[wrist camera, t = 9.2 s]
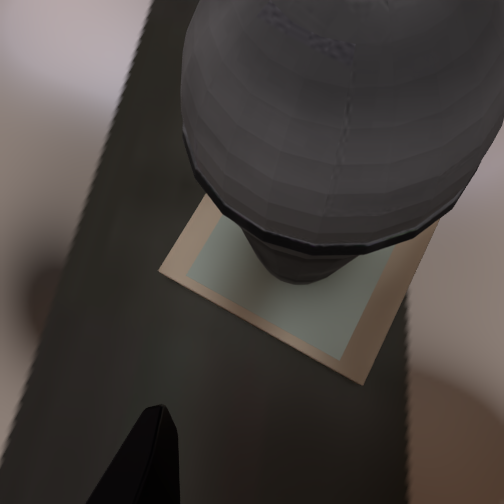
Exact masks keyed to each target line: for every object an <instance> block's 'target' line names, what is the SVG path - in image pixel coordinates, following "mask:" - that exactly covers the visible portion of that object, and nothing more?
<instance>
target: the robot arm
mask: <svg viewBox="0 0 504 504" xmlns="http://www.w3.org/2000/svg"><path fill="white" fill-rule="evenodd" d="M85 504H180V484H179V451H178V433H177V429H176V426H175V424H174V422H173V420H172V418H171V415H170V413H169V411H168V409H167V407H166V406H165V405H163V404H161V405H156V406H152V407H148V408H146V409H145V410H144V411H143V412H142V414H141V415H140V417H139V418H138V420H137V422H136V423H135V425H134V426H133V428H132V430H131V431H130V433H129V434H128V436H127V438H126V439H125V441H124V442H123V444H122V446H121V447H120V449H119V450H118V452H117V454H116V455H115V457H114V458H113V460H112V462H111V463H110V465H109V466H108V468H107V470H106V471H105V473H104V474H103V476H102V477H101V479H100V481H99V482H98V484H97V485H96V487H95V489H94V490H93V492H92V493H91V495H90V497H89V498H88V500H87V501H86V503H85Z"/></svg>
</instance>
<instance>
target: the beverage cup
mask: <svg viewBox="0 0 504 504" xmlns="http://www.w3.org/2000/svg"><path fill="white" fill-rule="evenodd" d="M181 114H182V117H183V142H184V145H185V148H186V151H187V154H188V157H189V161H190V164H191V167H192V170H193V173H194V176H195V179H196V180H197V182H198V183H199V184H200V186H201V187H202V188H203V189H204V191H205V192H206V193H207V195H208V196H209V197H210V199H211V200H212V201H213V203H214V204H215V205H216V207H217V208H218V209H219V210H220V212H221V213H222V214H223V215H224V216H226V217H227V218H229V219H230V220H232V221H233V222H235V223H236V224H237V225H238V226H239V227H240V228H241V229H242V231H243V233H244V235H245V237H246V238H247V240H248V242H249V244H250V245H251V247H252V249H253V251H254V252H255V254H256V256H257V258H258V259H259V260H260V262H261V263H262V264H263V265H264V267H265V268H266V269H267V270H268V271H269V273H270V274H272V275H273V276H275V277H276V278H278V279H279V280H280V281H283V282H286V283H290V284H293V285H308V284H311V283H314V282H317V281H320V280H322V279H325V278H327V277H328V276H330V275H331V274H333V273H334V272H336V271H337V270H339V269H340V268H341V267H343V266H344V265H346V264H347V263H349V262H350V261H352V260H353V259H355V258H356V257H358V256H359V255H366V254H369V253H372V252H375V251H378V250H381V249H384V248H387V247H390V246H393V245H396V244H399V243H402V242H405V241H408V240H411V239H413V238H415V237H416V236H417V235H419V234H420V233H421V232H423V231H424V230H425V229H427V228H428V227H429V226H431V225H432V224H433V223H434V222H436V221H437V220H438V219H440V218H441V217H442V216H444V215H445V214H446V213H448V212H449V211H450V210H452V208H453V207H454V205H455V204H456V202H457V201H458V199H459V197H460V196H461V194H462V193H463V191H464V190H465V188H466V186H467V185H468V183H469V182H470V180H471V178H472V177H473V175H474V174H475V172H476V171H477V169H478V167H479V164H480V163H481V160H482V158H483V157H484V155H485V154H486V152H487V151H488V149H489V147H490V146H491V144H492V143H493V141H494V139H495V137H496V135H497V133H498V131H499V130H500V128H501V126H502V123H503V119H504V0H200V1H199V3H198V6H197V8H196V10H195V13H194V15H193V17H192V20H191V22H190V25H189V27H188V29H187V32H186V38H185V43H184V49H183V58H182V77H181Z"/></svg>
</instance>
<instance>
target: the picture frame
mask: <svg viewBox="0 0 504 504" xmlns="http://www.w3.org/2000/svg"><path fill="white" fill-rule="evenodd" d="M439 220H440V219H438V220H437V221H436V222H434V223H433V224H432V225H431V226H429V227H428V228H427V229H425V230H424V231H423V232H421V233H420V234H419V235H417V236H416V237H415V238H413V239H411V240H408V241H405V242H402V243H399V244H396V245H393V246H390V247H387V248H384V249H381V250H378V251H375V252H372V253H369V254H366V255H359V256H358V257H356V258H355V259H353V260H352V261H350V262H349V263H347V264H346V265H344V266H343V267H341V268H340V269H339V270H337V271H336V272H334V273H333V274H331V275H330V276H328V277H327V278H325V279H322V280H320V281H317V282H314V283H311V284H308V285H293V284H290V283H286V282H283V281H280V280H279V279H278V278H276V277H275V276H273V275H272V274H270V273H269V271H268V270H267V269H266V268H265V267H264V265H263V264H262V263H261V262H260V260H259V259H258V258H257V256H256V254H255V252H254V251H253V249H252V247H251V245H250V244H249V242H248V240H247V238H246V237H245V235H244V233H243V231H242V229H241V228H240V227H239V226H238V225H237V224H236V223H235V222H233V221H232V220H230V219H229V218H227V217H226V216H224V215H223V214H222V213H221V212H220V210H219V209H218V208H217V207H216V205H215V204H214V203H213V201H212V200H211V199H210V197H209V196H208V195H207V193H206V195H205V196H204V198H203V199H202V201H201V203H200V204H199V206H198V207H197V209H196V211H195V212H194V214H193V216H192V217H191V219H190V220H189V222H188V224H187V225H186V227H185V228H184V230H183V232H182V233H181V235H180V236H179V238H178V240H177V241H176V243H175V245H174V246H173V248H172V249H171V251H170V253H169V254H168V256H167V257H166V259H165V261H164V262H163V264H162V265H161V267H160V269H159V270H158V271H159V272H160V273H162V274H163V275H165V276H166V277H168V278H170V279H172V280H173V281H175V282H177V283H179V284H180V285H182V286H184V287H186V288H188V289H189V290H191V291H193V292H195V293H196V294H198V295H200V296H202V297H204V298H205V299H207V300H209V301H211V302H212V303H214V304H216V305H218V306H220V307H221V308H223V309H225V310H227V311H229V312H230V313H232V314H234V315H236V316H237V317H239V318H241V319H243V320H245V321H246V322H248V323H250V324H252V325H253V326H255V327H257V328H259V329H261V330H262V331H264V332H266V333H268V334H269V335H271V336H273V337H275V338H277V339H278V340H280V341H282V342H284V343H285V344H287V345H289V346H291V347H293V348H294V349H296V350H298V351H300V352H302V353H303V354H305V355H307V356H309V357H310V358H312V359H314V360H316V361H318V362H319V363H321V364H323V365H325V366H326V367H328V368H330V369H332V370H334V371H335V372H337V373H339V374H341V375H342V376H344V377H346V378H348V379H350V380H351V381H353V382H355V383H357V384H360V385H362V386H363V384H364V382H365V380H366V378H367V376H368V374H369V371H370V369H371V367H372V365H373V363H374V361H375V358H376V356H377V354H378V352H379V350H380V348H381V345H382V343H383V341H384V339H385V337H386V335H387V332H388V330H389V328H390V326H391V324H392V322H393V320H394V317H395V315H396V313H397V311H398V309H399V307H400V304H401V302H402V300H403V298H404V296H405V294H406V291H407V289H408V287H409V285H410V283H411V281H412V278H413V276H414V274H415V272H416V270H417V268H418V265H419V263H420V261H421V259H422V257H423V255H424V252H425V250H426V248H427V246H428V244H429V242H430V239H431V237H432V235H433V233H434V231H435V228H436V226H437V224H438V222H439Z"/></svg>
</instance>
